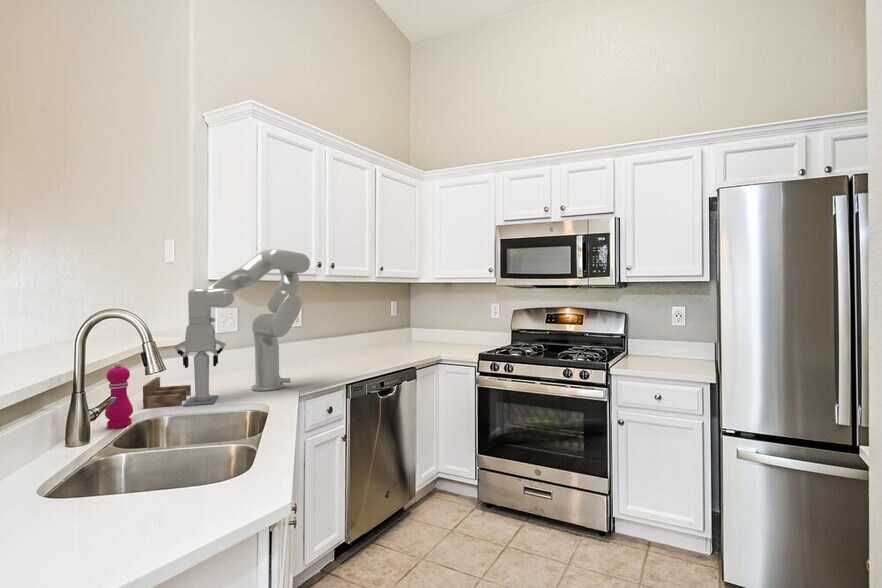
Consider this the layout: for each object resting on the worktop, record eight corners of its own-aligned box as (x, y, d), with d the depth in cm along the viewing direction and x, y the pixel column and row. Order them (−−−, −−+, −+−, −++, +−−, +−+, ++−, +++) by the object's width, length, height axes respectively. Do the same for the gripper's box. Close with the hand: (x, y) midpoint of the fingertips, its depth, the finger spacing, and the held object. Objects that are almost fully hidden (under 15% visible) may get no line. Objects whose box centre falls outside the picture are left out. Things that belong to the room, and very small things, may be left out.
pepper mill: (119, 429, 142) (117, 364, 141) (99, 428, 143) (97, 363, 143) (139, 423, 149) (137, 360, 149) (119, 422, 150) (118, 360, 150)
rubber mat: (218, 396, 185) (218, 394, 185) (213, 404, 172) (213, 402, 172) (190, 398, 182) (190, 396, 182) (182, 406, 169) (182, 405, 169)
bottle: (203, 401, 174) (202, 334, 174) (191, 401, 175) (190, 334, 175) (212, 398, 179) (211, 333, 179) (200, 397, 180) (199, 333, 180)
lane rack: (190, 394, 188) (190, 374, 188) (181, 405, 171) (180, 383, 171) (156, 397, 185) (156, 377, 184) (143, 408, 167) (142, 386, 167)
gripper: (226, 320, 183) (227, 363, 183) (176, 321, 178) (177, 366, 178) (223, 321, 176) (224, 366, 176) (171, 323, 171) (172, 369, 171)
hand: (200, 366), depth 177 cm, fingers open, 9 cm apart
